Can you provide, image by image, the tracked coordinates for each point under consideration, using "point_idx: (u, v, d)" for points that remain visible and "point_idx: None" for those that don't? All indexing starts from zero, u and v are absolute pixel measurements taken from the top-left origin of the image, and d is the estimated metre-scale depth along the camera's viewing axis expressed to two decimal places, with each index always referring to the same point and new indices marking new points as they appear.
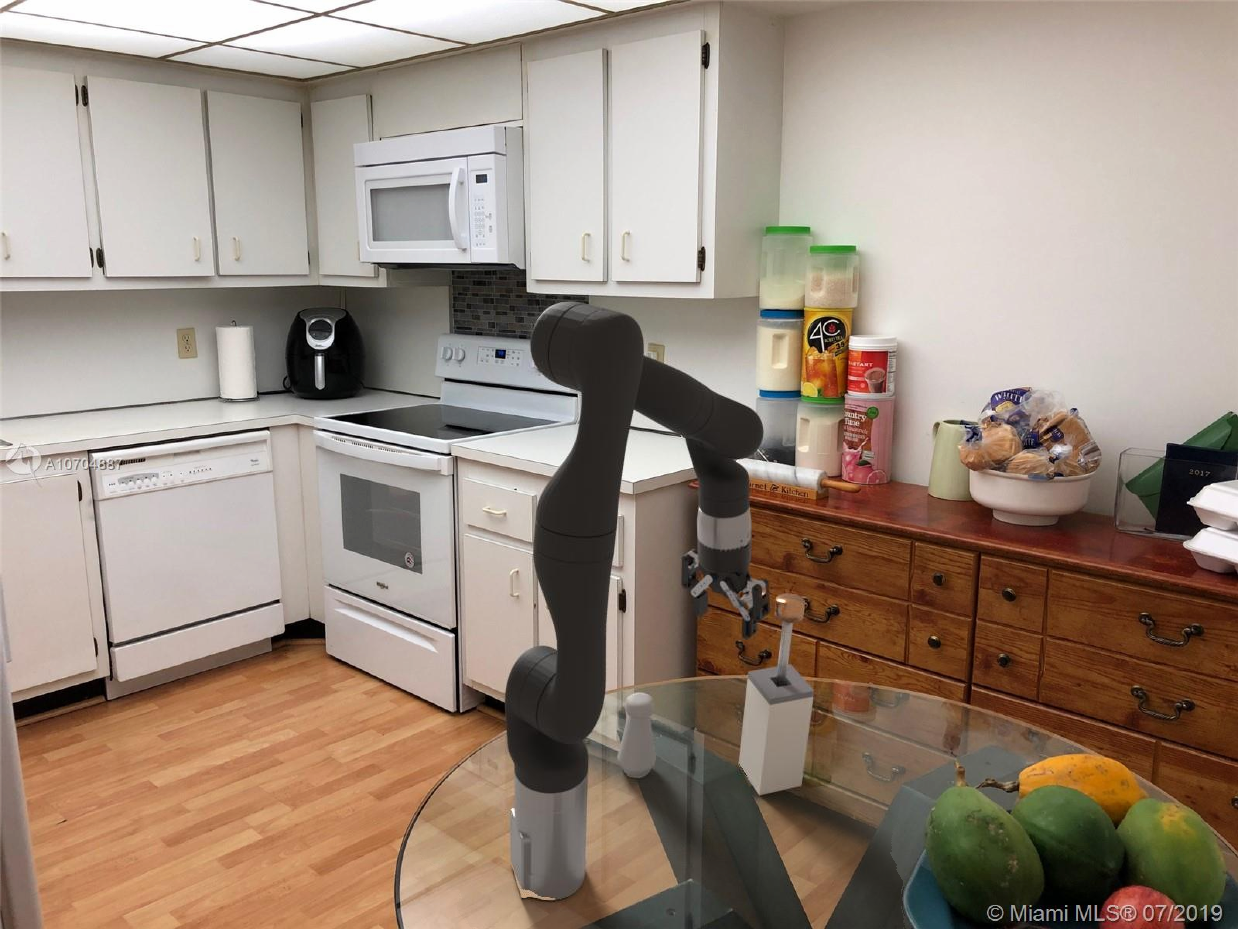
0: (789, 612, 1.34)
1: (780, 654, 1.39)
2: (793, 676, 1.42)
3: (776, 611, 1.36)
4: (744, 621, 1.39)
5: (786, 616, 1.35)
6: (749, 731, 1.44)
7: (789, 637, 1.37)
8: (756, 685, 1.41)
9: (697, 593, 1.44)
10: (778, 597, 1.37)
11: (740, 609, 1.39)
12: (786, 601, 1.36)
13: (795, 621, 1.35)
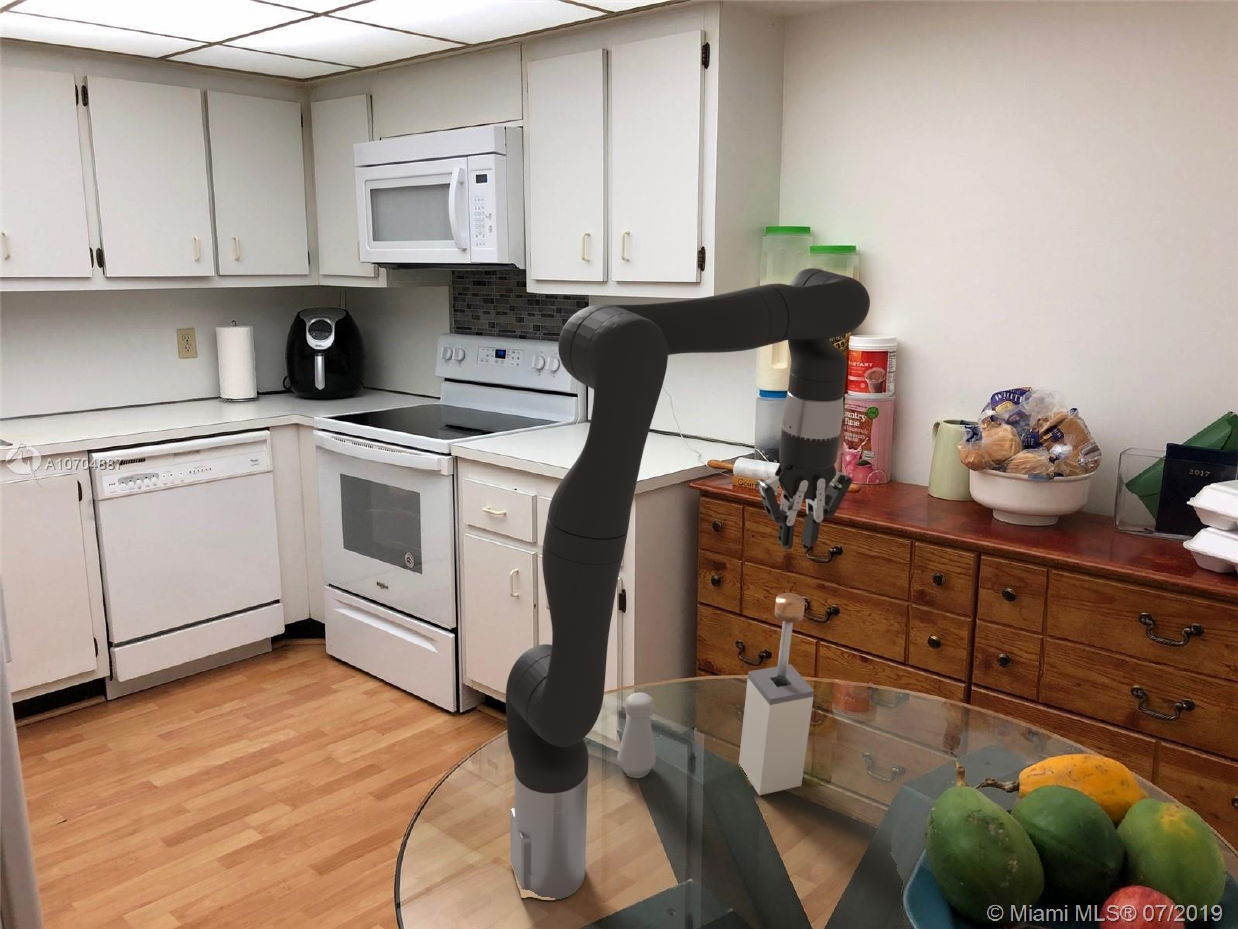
0: (789, 611, 1.34)
1: (780, 654, 1.39)
2: (793, 676, 1.42)
3: (776, 611, 1.36)
4: (815, 524, 1.31)
5: (786, 616, 1.35)
6: (749, 731, 1.44)
7: (789, 637, 1.37)
8: (756, 685, 1.41)
9: (794, 517, 1.29)
10: (778, 597, 1.36)
11: (817, 510, 1.30)
12: (786, 600, 1.36)
13: (795, 621, 1.35)
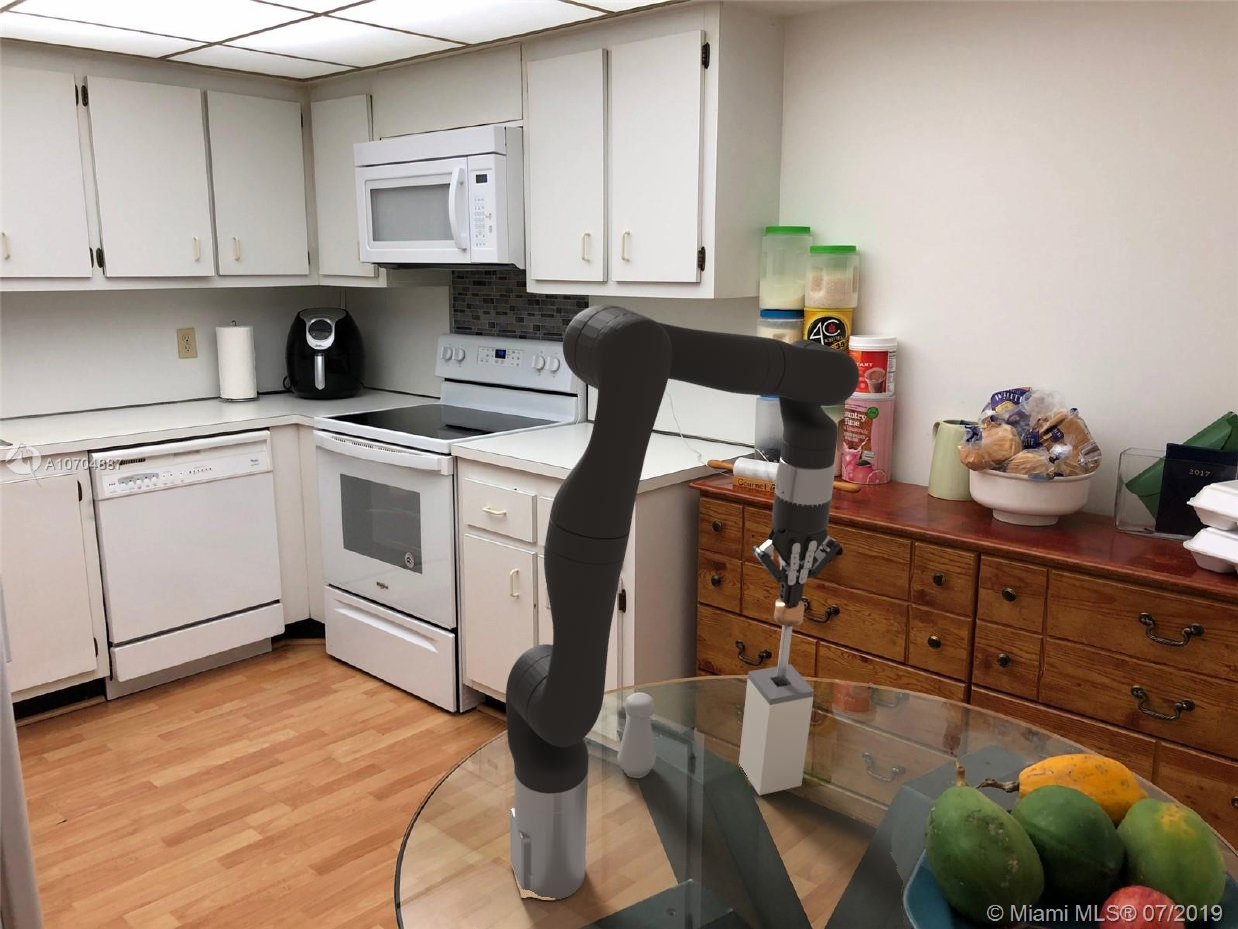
0: (788, 615, 1.34)
1: (780, 657, 1.39)
2: (793, 676, 1.42)
3: (776, 614, 1.36)
4: (799, 586, 1.34)
5: (786, 619, 1.35)
6: (749, 731, 1.44)
7: (789, 640, 1.38)
8: (756, 685, 1.41)
9: (794, 577, 1.33)
10: (778, 600, 1.37)
11: (802, 571, 1.33)
12: None
13: (795, 624, 1.35)
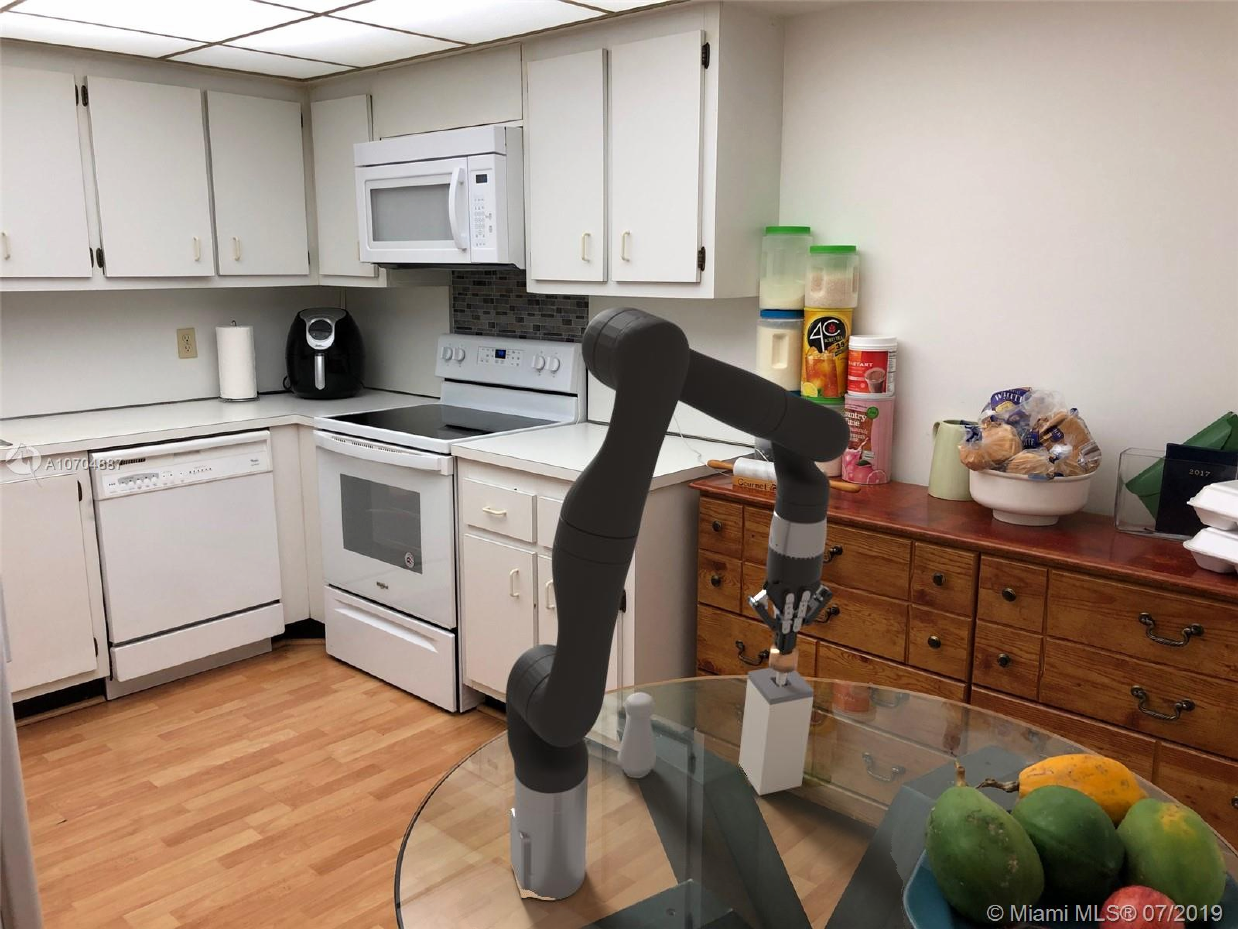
0: (783, 662, 1.37)
1: None
2: (793, 676, 1.42)
3: (770, 661, 1.39)
4: (793, 634, 1.37)
5: (780, 666, 1.38)
6: (749, 731, 1.44)
7: None
8: (756, 685, 1.41)
9: (788, 625, 1.36)
10: (772, 647, 1.40)
11: (796, 619, 1.36)
12: None
13: (789, 671, 1.38)
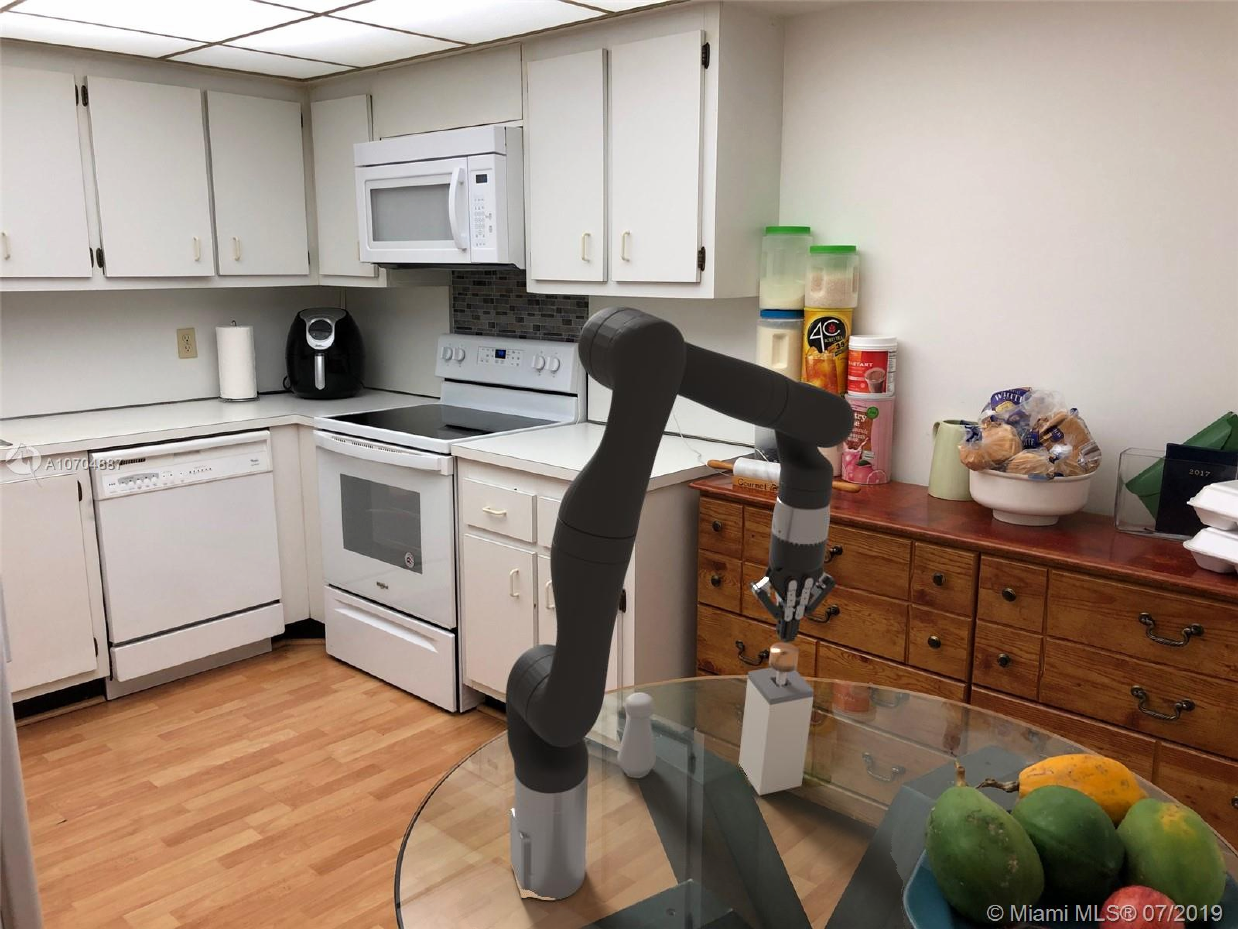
0: (783, 662, 1.37)
1: None
2: (793, 676, 1.42)
3: (770, 660, 1.39)
4: (795, 621, 1.36)
5: (780, 666, 1.38)
6: (749, 731, 1.44)
7: (783, 685, 1.41)
8: (756, 685, 1.41)
9: (791, 613, 1.35)
10: (772, 646, 1.40)
11: (798, 607, 1.35)
12: (780, 650, 1.39)
13: (789, 670, 1.38)
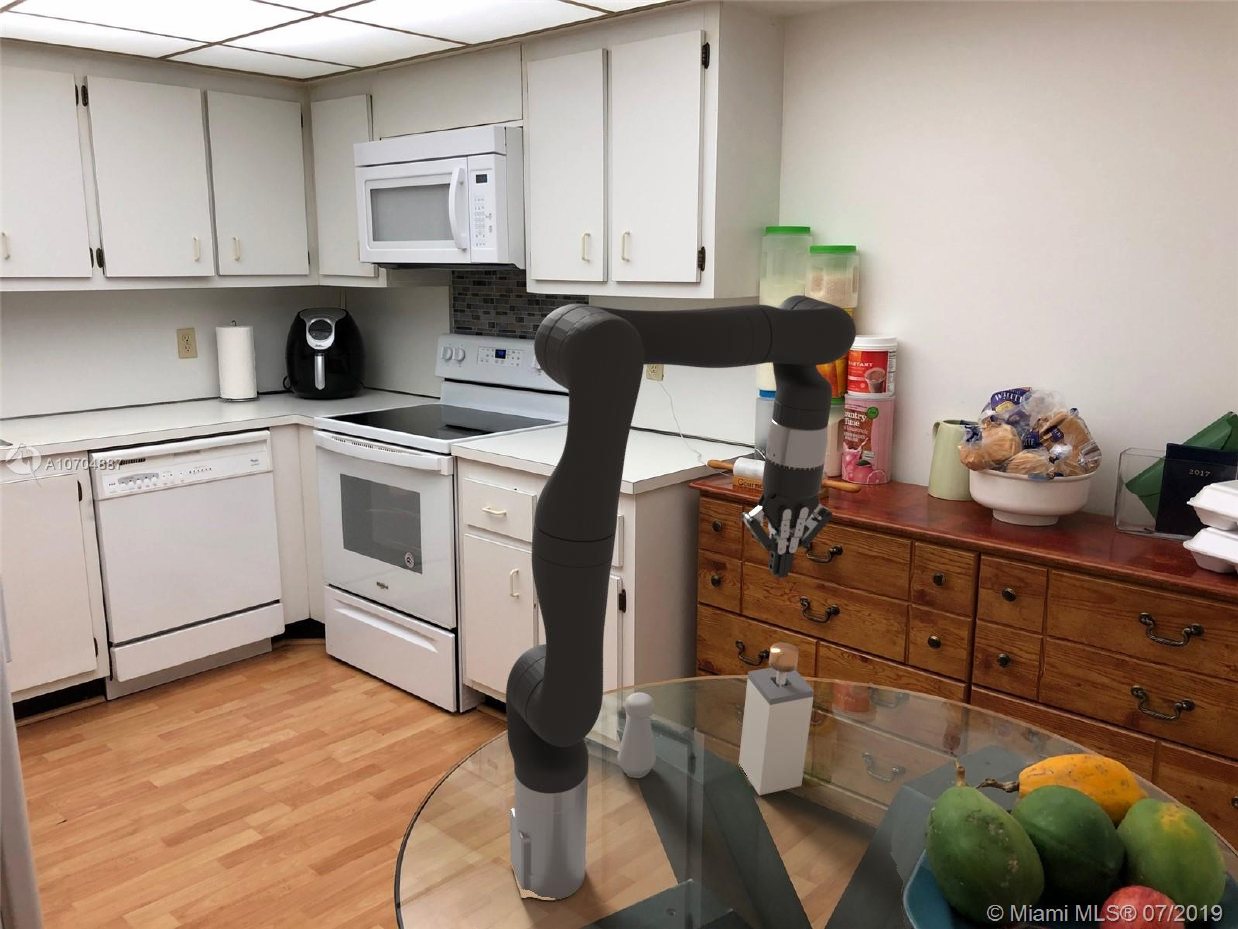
0: (783, 662, 1.37)
1: None
2: (793, 676, 1.42)
3: (770, 660, 1.39)
4: (789, 555, 1.29)
5: (780, 666, 1.38)
6: (749, 731, 1.44)
7: (783, 685, 1.41)
8: (756, 685, 1.41)
9: (784, 545, 1.28)
10: (772, 646, 1.40)
11: (793, 539, 1.28)
12: (780, 650, 1.39)
13: (789, 670, 1.38)
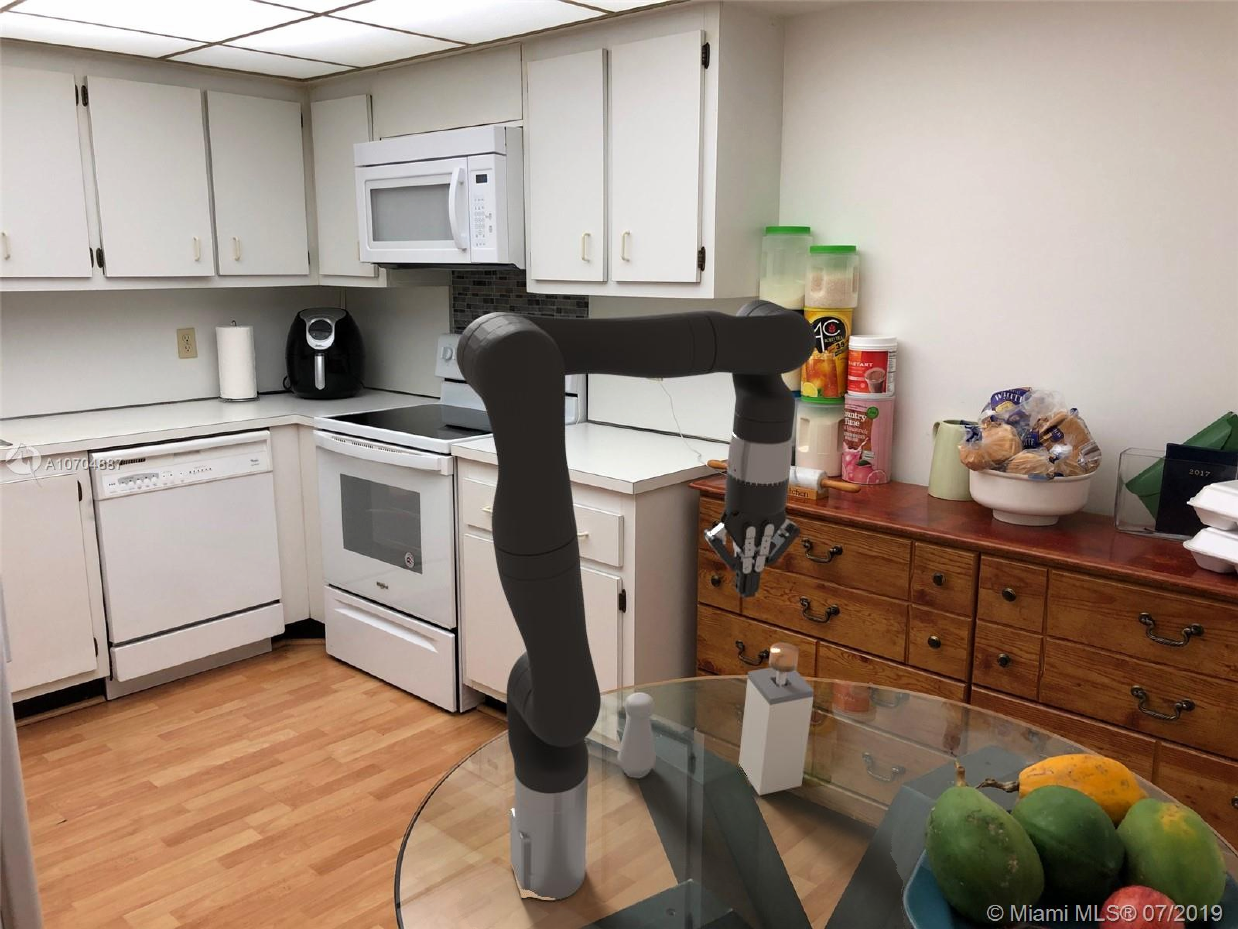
0: (783, 662, 1.37)
1: None
2: (793, 676, 1.42)
3: (770, 660, 1.39)
4: (755, 574, 1.22)
5: (780, 666, 1.38)
6: (749, 731, 1.44)
7: (783, 685, 1.41)
8: (756, 685, 1.41)
9: (749, 564, 1.21)
10: (772, 646, 1.40)
11: (758, 558, 1.21)
12: (780, 650, 1.39)
13: (789, 670, 1.38)
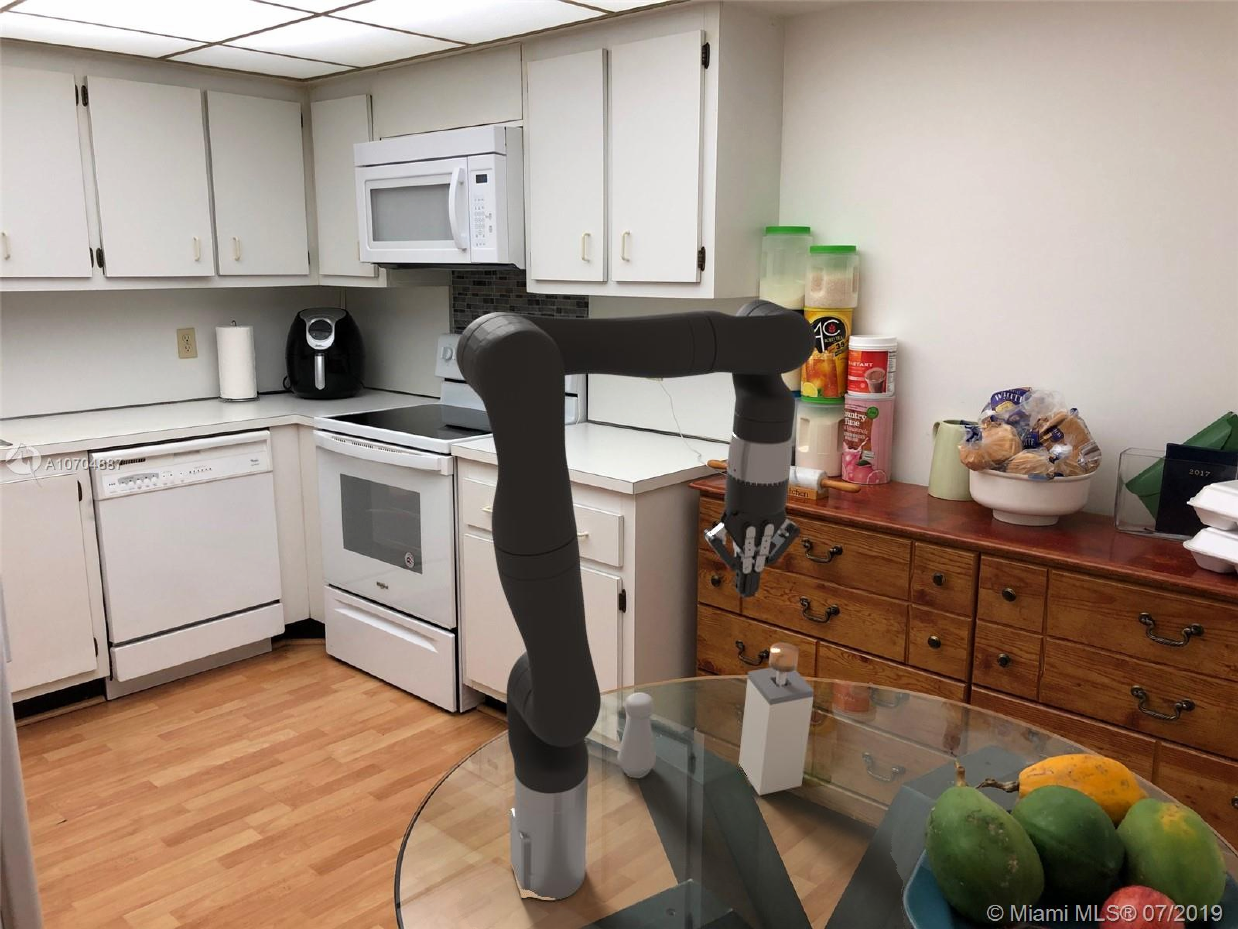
0: (783, 662, 1.37)
1: None
2: (793, 676, 1.42)
3: (770, 660, 1.39)
4: (755, 574, 1.22)
5: (780, 666, 1.38)
6: (749, 731, 1.44)
7: (783, 685, 1.41)
8: (756, 685, 1.41)
9: (749, 564, 1.21)
10: (772, 646, 1.40)
11: (758, 558, 1.21)
12: (780, 650, 1.39)
13: (789, 670, 1.38)
